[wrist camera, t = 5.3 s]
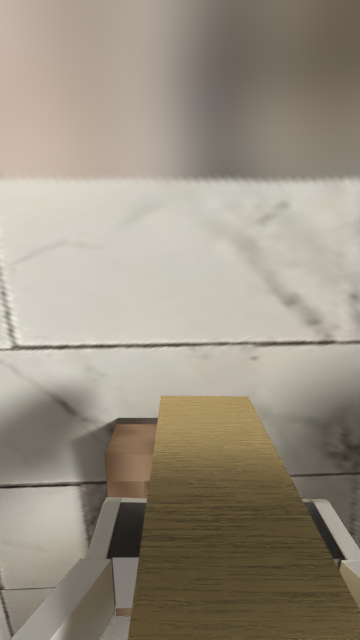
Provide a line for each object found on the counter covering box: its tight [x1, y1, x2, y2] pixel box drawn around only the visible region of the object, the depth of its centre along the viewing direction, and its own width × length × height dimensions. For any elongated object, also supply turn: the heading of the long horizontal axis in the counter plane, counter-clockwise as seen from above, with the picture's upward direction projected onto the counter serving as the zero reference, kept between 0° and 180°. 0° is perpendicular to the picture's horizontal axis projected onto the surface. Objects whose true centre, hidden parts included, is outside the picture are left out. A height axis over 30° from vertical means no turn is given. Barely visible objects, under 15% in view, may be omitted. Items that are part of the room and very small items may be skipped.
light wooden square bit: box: [128, 396, 360, 640], centre depth 7 cm, size 4×4×8 cm
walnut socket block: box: [105, 418, 158, 616], centre depth 25 cm, size 12×20×5 cm, turn 179°
